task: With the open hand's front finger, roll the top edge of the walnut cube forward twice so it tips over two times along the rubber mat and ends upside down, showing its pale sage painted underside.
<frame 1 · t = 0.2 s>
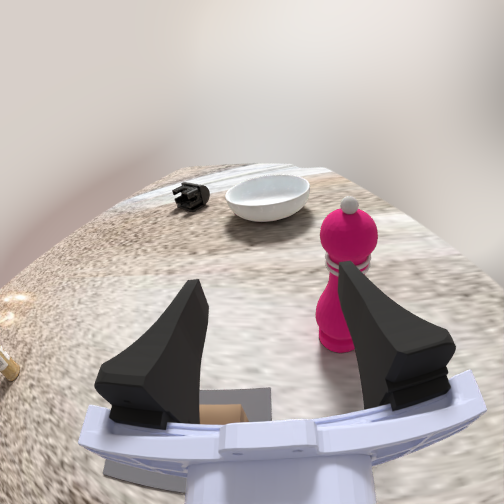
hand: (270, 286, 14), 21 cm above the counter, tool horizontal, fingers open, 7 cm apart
mat: (184, 439, 25), on the counter
sprinkles bottle: (14, 374, 33), on the counter
cube: (226, 440, 25), resting on mat
pepper mill: (341, 336, 35), on the counter
end cap: (193, 205, 84), on the counter
serving bowl: (270, 213, 71), on the counter
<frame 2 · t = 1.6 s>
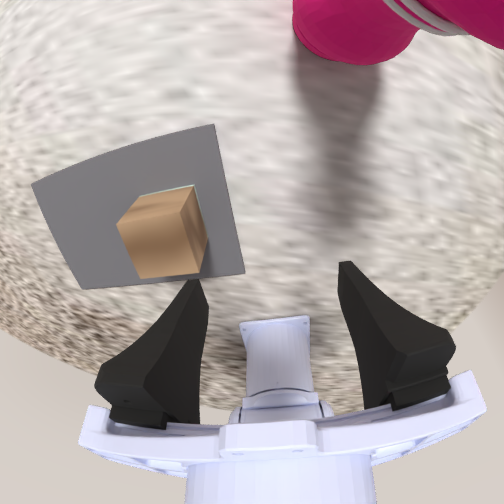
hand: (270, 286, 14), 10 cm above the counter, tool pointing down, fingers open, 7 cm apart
mat: (126, 223, 24), on the counter
cube: (174, 216, 23), resting on mat
pepper mill: (333, 25, 14), on the counter
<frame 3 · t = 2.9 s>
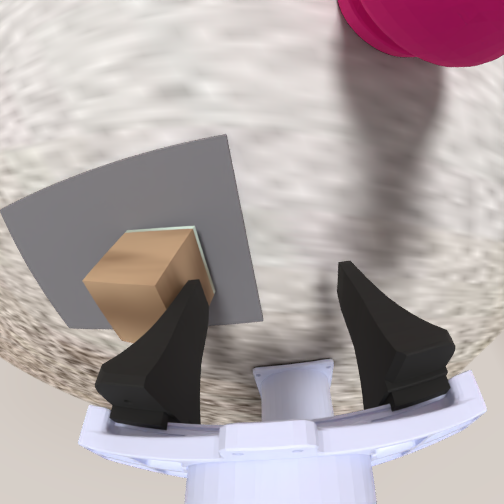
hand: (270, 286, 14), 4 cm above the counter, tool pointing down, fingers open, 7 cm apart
mat: (113, 262, 18), on the counter
cube: (170, 261, 17), point 1 cm above the counter, tilted 11°, touching mat
pepper mill: (388, 9, 9), on the counter
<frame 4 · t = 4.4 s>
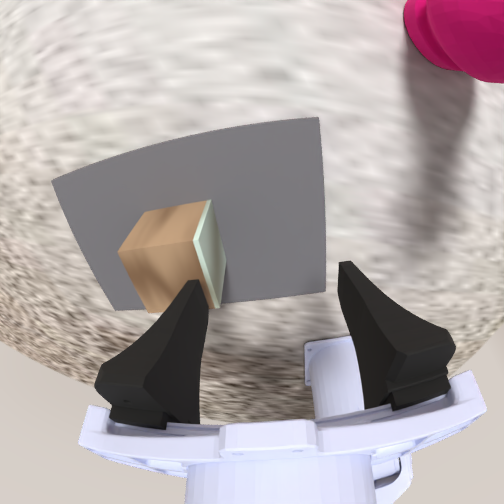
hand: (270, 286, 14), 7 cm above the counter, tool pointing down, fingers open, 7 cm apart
mat: (186, 234, 20), on the counter
cube: (215, 251, 17), point 3 cm above the counter, tilted 90°, touching mat
pepper mill: (437, 30, 10), on the counter
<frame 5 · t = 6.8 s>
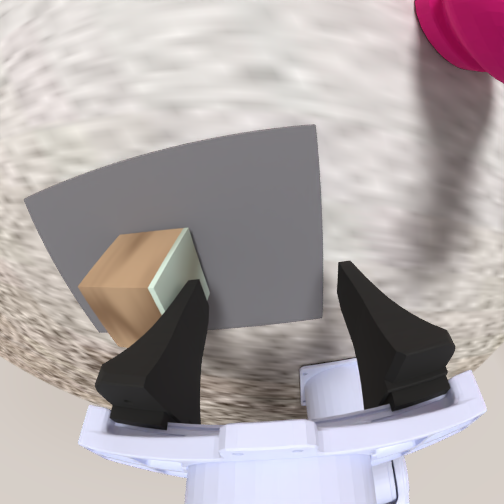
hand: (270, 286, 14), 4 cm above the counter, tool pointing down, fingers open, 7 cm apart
mat: (166, 258, 18), on the counter
cube: (187, 291, 15), point 3 cm above the counter, tilted 97°, touching gripper, mat
pepper mill: (452, 24, 8), on the counter
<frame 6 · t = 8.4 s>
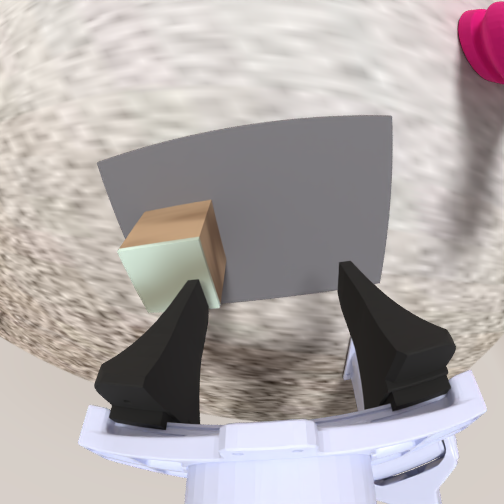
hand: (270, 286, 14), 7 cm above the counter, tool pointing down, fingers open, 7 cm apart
mat: (254, 224, 20), on the counter
cube: (169, 281, 16), point 5 cm above the counter, tilted 180°, touching mat
pepper mill: (482, 45, 10), on the counter
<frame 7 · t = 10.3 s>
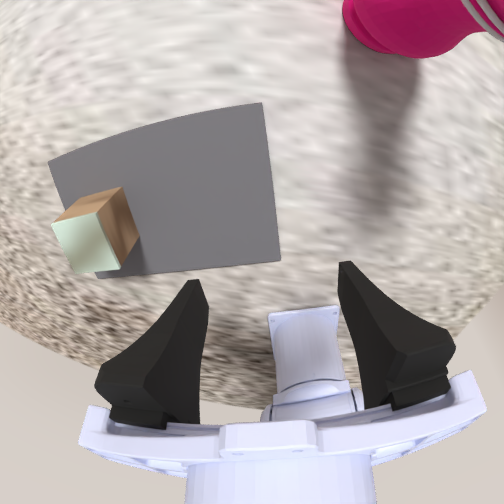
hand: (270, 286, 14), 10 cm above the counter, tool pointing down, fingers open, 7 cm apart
mat: (156, 205, 23), on the counter
cube: (83, 246, 19), point 5 cm above the counter, tilted 180°, touching mat
pepper mill: (378, 19, 13), on the counter
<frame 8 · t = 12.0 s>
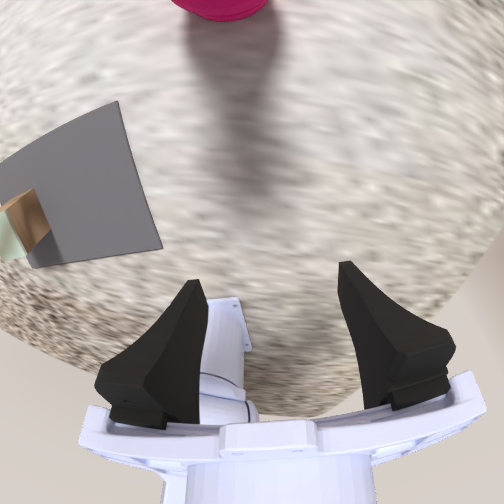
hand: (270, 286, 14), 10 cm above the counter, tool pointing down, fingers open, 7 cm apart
mat: (58, 202, 22), on the counter
cube: (3, 238, 18), point 5 cm above the counter, tilted 180°, touching mat
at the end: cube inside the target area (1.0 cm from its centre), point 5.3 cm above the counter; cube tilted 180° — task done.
